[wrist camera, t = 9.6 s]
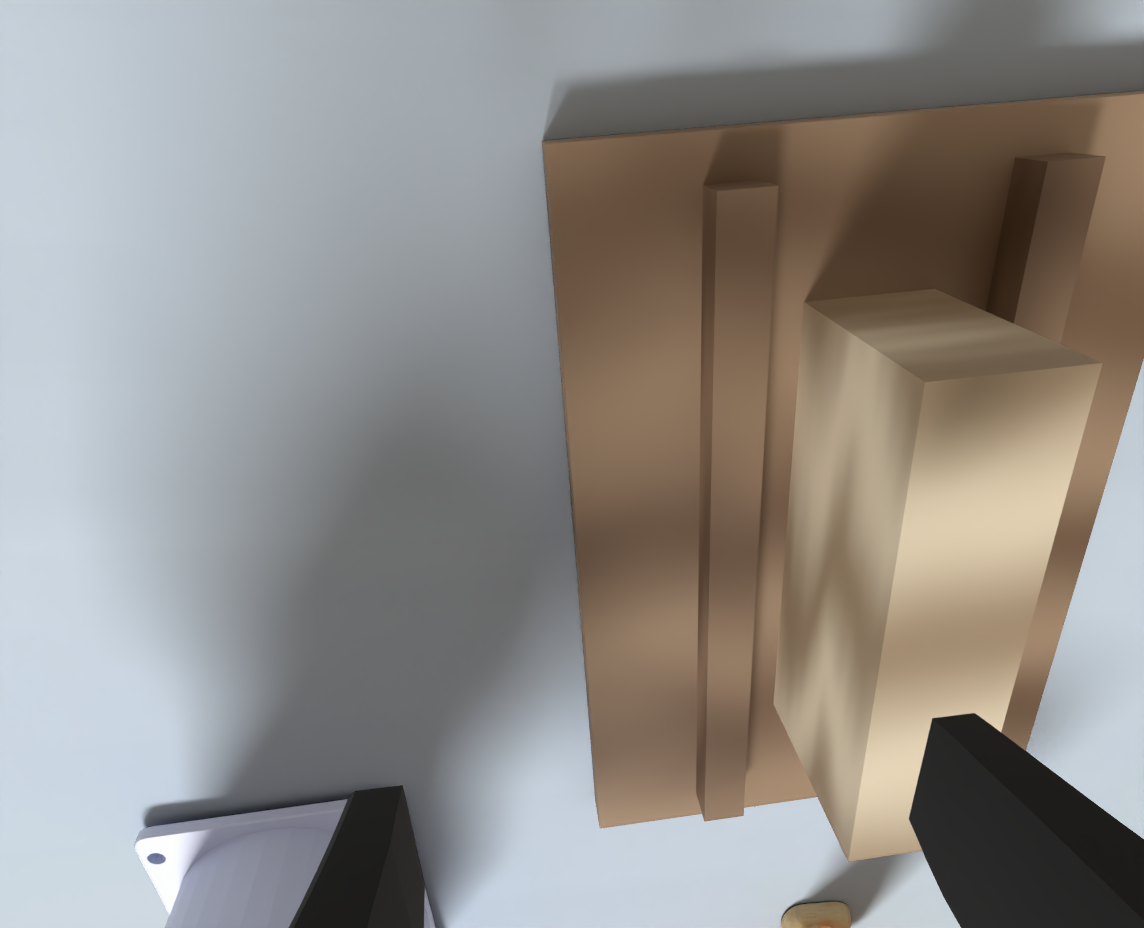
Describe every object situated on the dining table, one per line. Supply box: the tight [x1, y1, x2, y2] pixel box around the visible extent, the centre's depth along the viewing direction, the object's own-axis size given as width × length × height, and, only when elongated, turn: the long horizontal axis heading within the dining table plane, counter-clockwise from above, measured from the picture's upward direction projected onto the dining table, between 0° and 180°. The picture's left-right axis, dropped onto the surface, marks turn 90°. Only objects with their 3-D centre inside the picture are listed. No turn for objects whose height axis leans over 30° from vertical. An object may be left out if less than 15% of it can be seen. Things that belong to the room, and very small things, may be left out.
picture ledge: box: [542, 91, 1144, 828], centre depth 19 cm, size 20×14×2 cm
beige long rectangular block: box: [774, 289, 1102, 862], centre depth 17 cm, size 12×3×5 cm, turn 4°
